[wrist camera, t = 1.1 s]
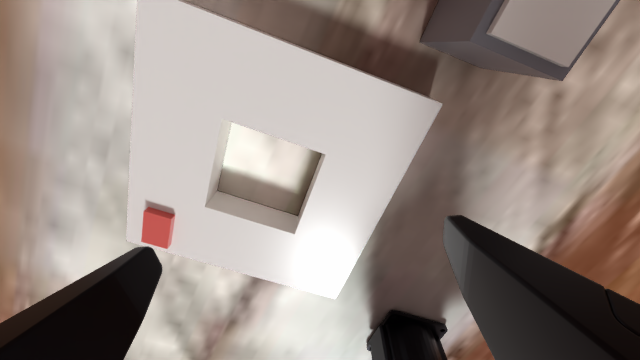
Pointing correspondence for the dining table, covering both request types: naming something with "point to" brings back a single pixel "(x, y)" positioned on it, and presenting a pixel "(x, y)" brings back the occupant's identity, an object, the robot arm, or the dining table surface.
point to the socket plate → (270, 118)
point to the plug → (517, 33)
